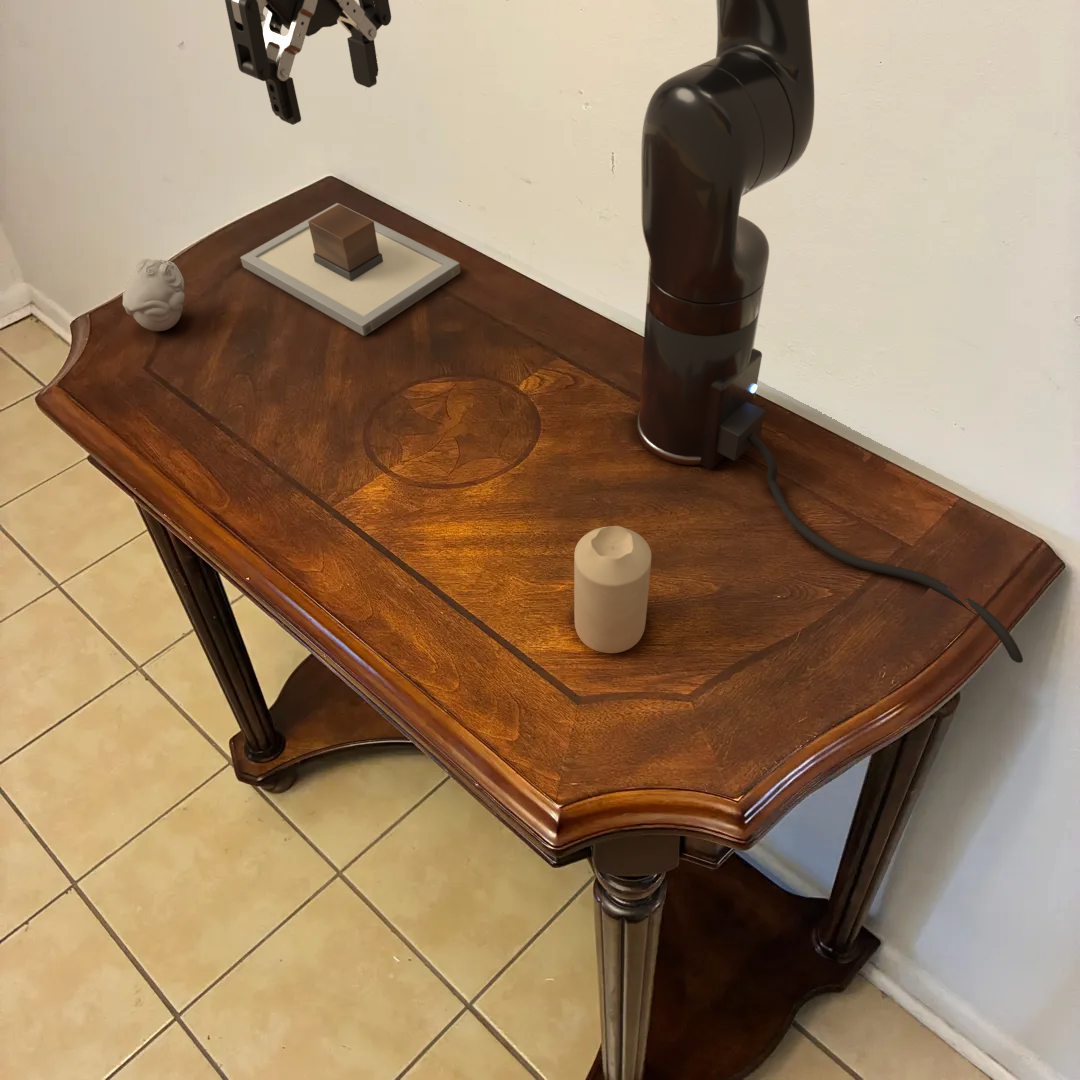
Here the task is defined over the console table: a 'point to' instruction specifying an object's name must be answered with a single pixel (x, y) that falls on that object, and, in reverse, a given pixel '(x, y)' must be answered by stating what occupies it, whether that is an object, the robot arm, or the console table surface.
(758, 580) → the console table surface
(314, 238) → the eraser
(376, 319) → the whiteboard
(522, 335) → the console table surface
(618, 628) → the candle
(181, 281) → the frog figurine
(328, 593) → the console table surface
